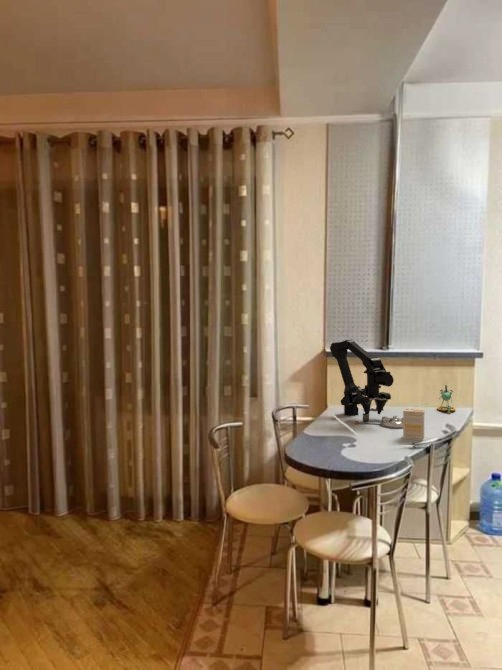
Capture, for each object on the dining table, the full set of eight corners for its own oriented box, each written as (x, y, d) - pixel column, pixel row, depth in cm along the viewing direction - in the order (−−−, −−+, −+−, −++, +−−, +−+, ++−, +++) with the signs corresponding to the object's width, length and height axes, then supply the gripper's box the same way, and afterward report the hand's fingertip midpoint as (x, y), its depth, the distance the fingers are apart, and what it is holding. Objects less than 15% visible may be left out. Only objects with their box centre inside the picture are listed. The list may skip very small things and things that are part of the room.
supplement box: (424, 440, 215) (425, 409, 214) (423, 443, 211) (423, 412, 210) (404, 437, 219) (404, 408, 217) (402, 440, 214) (403, 410, 213)
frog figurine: (434, 413, 263) (434, 385, 263) (437, 410, 279) (438, 383, 279) (453, 415, 258) (454, 386, 259) (456, 411, 275) (457, 384, 275)
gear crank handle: (408, 422, 239) (408, 413, 239) (407, 429, 228) (407, 419, 228) (363, 419, 246) (364, 411, 245) (361, 426, 234) (361, 416, 234)
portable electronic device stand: (363, 410, 272) (363, 394, 271) (375, 408, 275) (375, 393, 275) (375, 413, 264) (375, 397, 263) (386, 411, 268) (386, 396, 267)
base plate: (359, 434, 224) (359, 430, 224) (350, 421, 248) (350, 417, 248) (428, 434, 223) (428, 430, 223) (413, 421, 247) (413, 417, 247)
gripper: (374, 379, 255) (374, 409, 256) (346, 383, 245) (347, 415, 246) (391, 382, 245) (391, 413, 246) (363, 386, 235) (363, 419, 237)
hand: (373, 415), depth 244 cm, fingers open, 7 cm apart
